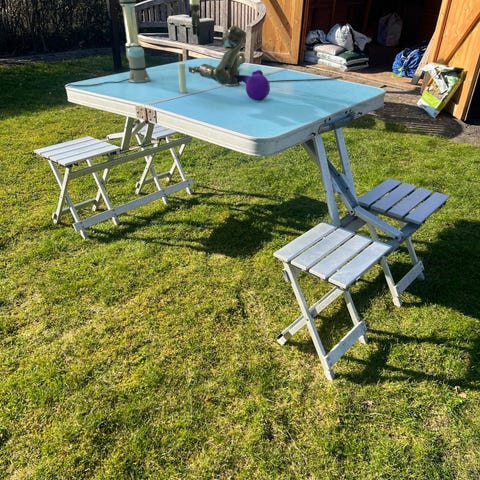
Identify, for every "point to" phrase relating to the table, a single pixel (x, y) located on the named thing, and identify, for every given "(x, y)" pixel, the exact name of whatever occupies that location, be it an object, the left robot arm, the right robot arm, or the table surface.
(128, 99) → the table surface
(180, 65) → the lid
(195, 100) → the table surface
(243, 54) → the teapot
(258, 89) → the toy
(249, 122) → the table surface
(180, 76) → the pale green cylinder
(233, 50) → the right robot arm
